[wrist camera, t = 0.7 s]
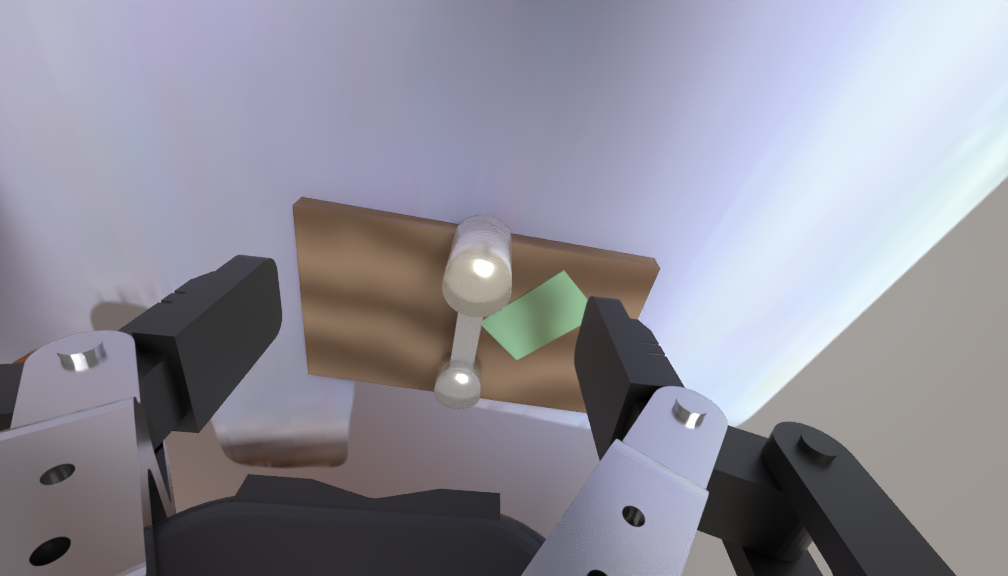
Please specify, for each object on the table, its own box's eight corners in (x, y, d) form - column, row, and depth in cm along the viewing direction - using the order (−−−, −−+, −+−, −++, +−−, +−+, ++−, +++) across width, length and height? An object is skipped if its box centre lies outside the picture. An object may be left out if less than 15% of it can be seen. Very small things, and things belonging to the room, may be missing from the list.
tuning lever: (457, 209, 28) (445, 253, 23) (517, 220, 29) (517, 265, 24) (435, 378, 37) (422, 437, 32) (481, 384, 37) (476, 443, 32)
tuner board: (301, 196, 30) (291, 206, 29) (654, 258, 33) (660, 269, 31) (314, 362, 39) (307, 375, 38) (592, 401, 41) (595, 415, 40)
